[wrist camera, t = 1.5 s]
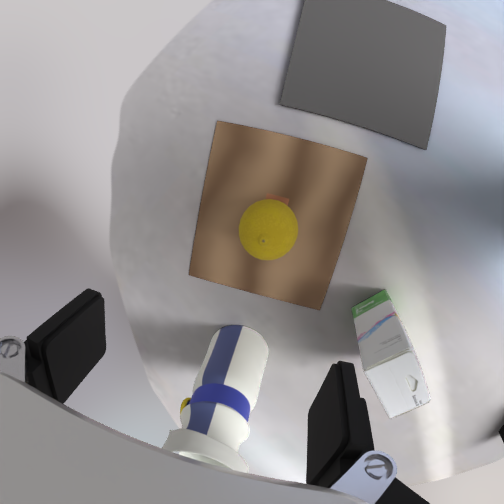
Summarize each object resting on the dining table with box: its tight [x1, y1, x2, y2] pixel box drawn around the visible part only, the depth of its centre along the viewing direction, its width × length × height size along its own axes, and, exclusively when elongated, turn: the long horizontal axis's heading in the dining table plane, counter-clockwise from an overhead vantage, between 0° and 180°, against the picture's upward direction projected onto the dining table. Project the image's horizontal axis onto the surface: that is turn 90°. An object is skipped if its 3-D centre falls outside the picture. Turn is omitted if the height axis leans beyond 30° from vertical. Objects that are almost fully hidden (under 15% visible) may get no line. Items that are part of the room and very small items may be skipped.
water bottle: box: [162, 325, 269, 473], centre depth 28 cm, size 8×9×25 cm
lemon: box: [239, 199, 298, 260], centre depth 29 cm, size 6×6×8 cm
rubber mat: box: [280, 0, 446, 150], centre depth 26 cm, size 16×16×1 cm
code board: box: [189, 121, 367, 310], centre depth 33 cm, size 16×18×1 cm
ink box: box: [351, 290, 431, 419], centre depth 30 cm, size 9×5×12 cm, turn 34°
